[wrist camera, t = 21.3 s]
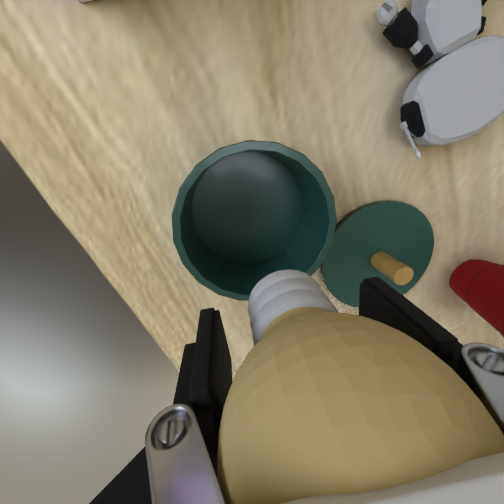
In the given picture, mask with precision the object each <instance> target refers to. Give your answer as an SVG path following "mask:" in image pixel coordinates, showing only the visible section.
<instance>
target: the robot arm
mask: <svg viewBox="0 0 504 504" xmlns="http://www.w3.org/2000/svg"><path fill="white" fill-rule="evenodd" d="M359 316H363V317H366V318H369V319H372V320H375V321H379V322H381V323H383V324H386V325H388V326H390V327H392V328H394V329H397V330H399V331H401V332H403V333H405V334H406V335H408V336H410V337H411V338H413V339H414V340H416V341H418V342H419V343H420V344H422V345H423V346H425V347H426V348H427V349H429V350H430V351H431V352H433V353H434V354H435V355H436V356H437V357H439V358H440V359H441V360H442V361H443V362H445V363H446V364H447V365H448V366H450V367H451V368H452V369H453V370H454V371H455V372H456V373H457V375H458V376H459V377H460V378H461V379H462V380H463V381H464V382H465V383H466V384H467V385H468V386H469V387H470V389H471V390H472V391H473V392H474V394H475V395H476V396H477V397H478V399H479V400H480V401H481V402H482V404H483V405H484V406H485V408H486V409H487V411H488V412H489V414H490V415H491V416H492V418H493V419H494V421H495V422H496V424H497V425H498V427H499V428H500V430H501V432H502V433H503V435H504V350H503V349H500V348H498V347H495V346H492V345H489V344H484V343H469V344H466V345H464V346H463V345H462V344H460V343H459V342H458V339H457V338H456V337H455V336H453V335H452V334H451V333H450V332H448V331H447V330H446V329H445V328H443V327H442V326H441V325H439V324H438V323H437V322H436V321H434V320H433V319H432V318H431V317H429V316H428V315H427V314H425V313H424V312H423V311H422V310H420V309H419V308H418V307H417V306H415V305H414V304H413V303H411V302H410V301H409V300H408V299H406V298H405V297H404V296H403V295H401V294H400V293H399V292H397V291H396V290H395V289H394V288H392V287H391V286H390V285H389V284H387V283H386V282H385V281H383V280H382V279H381V278H380V277H371V278H366V279H364V280H363V282H362V283H360V293H359ZM231 385H232V365H231V357H230V352H229V348H228V344H227V340H226V336H225V332H224V328H223V324H222V320H221V316H220V312H219V310H216V311H215V310H214V308H208V309H203V310H201V311H200V317H199V324H198V331H197V337H196V343H191V344H186V346H185V348H184V353H183V358H182V362H181V367H180V372H179V377H178V382H177V387H176V392H175V397H174V402H173V405H171V406H169V407H166V408H165V409H164V410H162V411H161V412H159V413H158V414H157V415H156V417H155V418H154V419H153V420H152V422H151V423H150V425H149V427H148V429H147V432H146V435H145V447H144V448H143V449H142V450H141V451H140V452H139V453H138V454H137V455H136V456H135V458H133V460H131V462H130V463H129V464H128V465H127V466H126V467H125V468H124V469H123V470H122V471H121V472H120V473H119V474H118V475H117V476H116V477H115V478H114V479H113V480H112V481H111V482H110V483H109V484H108V485H107V486H106V487H105V488H104V489H103V490H102V491H101V492H100V493H99V494H98V495H97V496H96V497H95V498H94V499H93V500H92V501H91V502H90V503H89V504H226V503H225V500H224V497H223V494H222V492H221V489H220V486H219V483H218V464H217V453H218V438H219V429H220V424H221V419H222V413H223V408H224V404H225V401H226V398H227V395H228V392H229V389H230V387H231ZM281 504H504V452H503V453H498V454H494V455H489V456H485V457H480V458H476V459H471V460H467V461H465V462H463V463H461V464H459V465H457V466H455V467H453V468H451V469H448V470H445V471H443V472H440V473H437V474H434V475H432V476H429V477H426V478H423V479H419V480H416V481H413V482H410V483H406V484H403V485H399V486H395V487H391V488H386V489H381V490H374V491H368V492H362V493H351V494H336V495H315V496H311V497H306V498H302V499H298V500H294V501H289V502H285V503H281Z"/></svg>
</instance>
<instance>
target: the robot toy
mask: <svg viewBox="0 0 504 504" xmlns="http://www.w3.org/2000/svg"><path fill="white" fill-rule="evenodd" d="M486 1H487V0H413V1H412V5H411V13H410V12H409V11H408V10H407V8H406V7H405V8H404V9H402V10H401V11H400V12H399V13H398V8H397V3H396V2H395V1H393V0H386V1H385V2H384V3H383V4H382V6H381V8H380V9H379V10H378V11H377V15H376V18H377V20H378V22H379V24H381V25H385V26H387V28H386V29H385V31H384V32H383V34H384V35H385V36H386V38H387V39H388V40H389V41H390V42H391V43H392V45H393V46H394V47H398V48H404V49H409V50H410V51H411V52H412V53H413V57H412V60H411V61H412V62H413V64H414V65H415V66H416V67H417V68H419V67H421V66H423V65H424V64H426V65H428V64H429V63H431V62H432V63H431V64H430V65H428V66H427V67H426V68H425V69H423V70H422V71H421V72H420V73H419V74H418V75H417V76H416V77H415V78H414V79H413V80H412V81H411V83H410V84H409V86H408V87H407V89H406V91H405V93H404V96H403V101H402V107H401V108H400V114H401V118H400V119H401V124H400V125H399V126H400V128H401V130H404V133H405V134H406V136H407V138H408V140H409V142H410V144H411V147H412V149H413V151H414V155H415V157H416V158H418V159H420V156H421V155H420V152H419V151H418V150H417V148H416V146H415V144H414V142H415V143H416V144H417V145H421V146H435V145H442V144H448V143H452V142H456V141H459V140H462V139H465V138H467V137H470V136H473V135H475V134H477V133H478V132H479V131H481V130H482V129H484V128H485V127H486V126H488V125H489V124H491V123H492V122H493V121H495V120H496V119H497V118H498V117H499V116H500V115H502V114H503V113H504V37H502V36H498V35H493V36H487V37H482V38H479V39H476V40H473V41H470V40H472V39H474V38H475V37H476V36H477V35H479V34H480V33H482V32H483V31H484V26H485V21H486V17H483V16H481V13H482V8H483V5H484V4H485V2H486ZM469 41H470V42H469ZM467 42H468V43H467ZM433 61H434V62H433ZM413 141H414V142H413Z"/></svg>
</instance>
